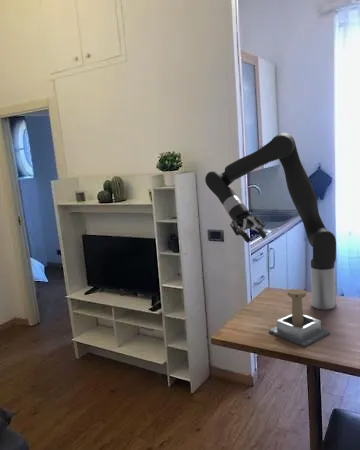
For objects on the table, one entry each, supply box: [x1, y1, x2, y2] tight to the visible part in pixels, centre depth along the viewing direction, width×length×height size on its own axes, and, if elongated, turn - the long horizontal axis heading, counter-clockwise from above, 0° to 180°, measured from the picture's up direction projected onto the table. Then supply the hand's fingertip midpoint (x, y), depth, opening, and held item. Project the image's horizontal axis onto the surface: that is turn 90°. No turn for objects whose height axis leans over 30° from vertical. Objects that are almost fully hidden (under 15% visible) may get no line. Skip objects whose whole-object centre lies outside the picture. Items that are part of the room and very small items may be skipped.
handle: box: [286, 288, 307, 328], centre depth 141 cm, size 5×6×15 cm
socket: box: [268, 313, 331, 348], centre depth 142 cm, size 14×16×5 cm
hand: (257, 239), depth 154 cm, fingers open, 8 cm apart
